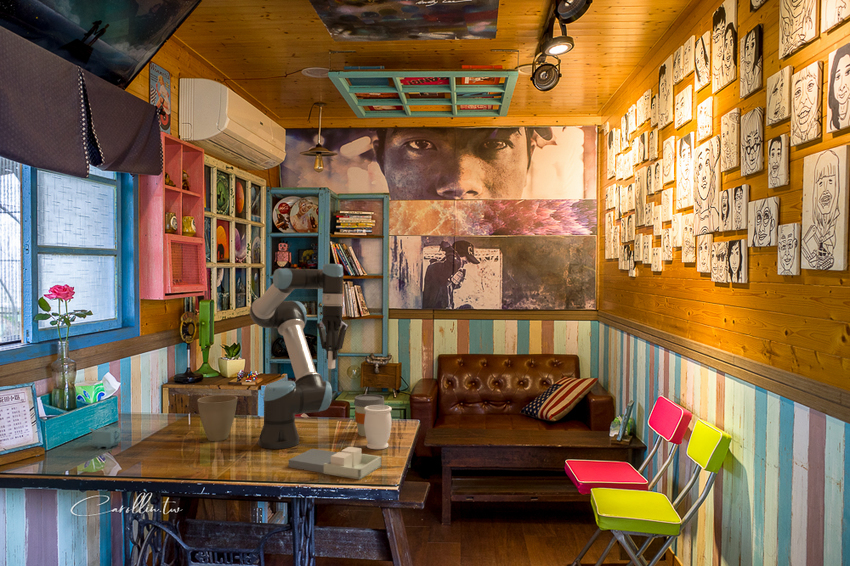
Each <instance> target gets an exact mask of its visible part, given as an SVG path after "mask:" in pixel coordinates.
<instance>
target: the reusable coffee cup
mask: <svg viewBox="0 0 850 566" xmlns="http://www.w3.org/2000/svg"><path fill="white" fill-rule="evenodd" d="M353 401H354V403H353V405H354V408H355V410H354V419H355V423H356V427H357V434H358V435H359V436H361V437H366V435H365V427H364V420H365V414H366V411H365V407H366V406H370V405H385V396H383V395H381V394H371V393H370V394H367V393H366V394H359V395H356V396H355V397H354V400H353Z"/></svg>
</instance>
